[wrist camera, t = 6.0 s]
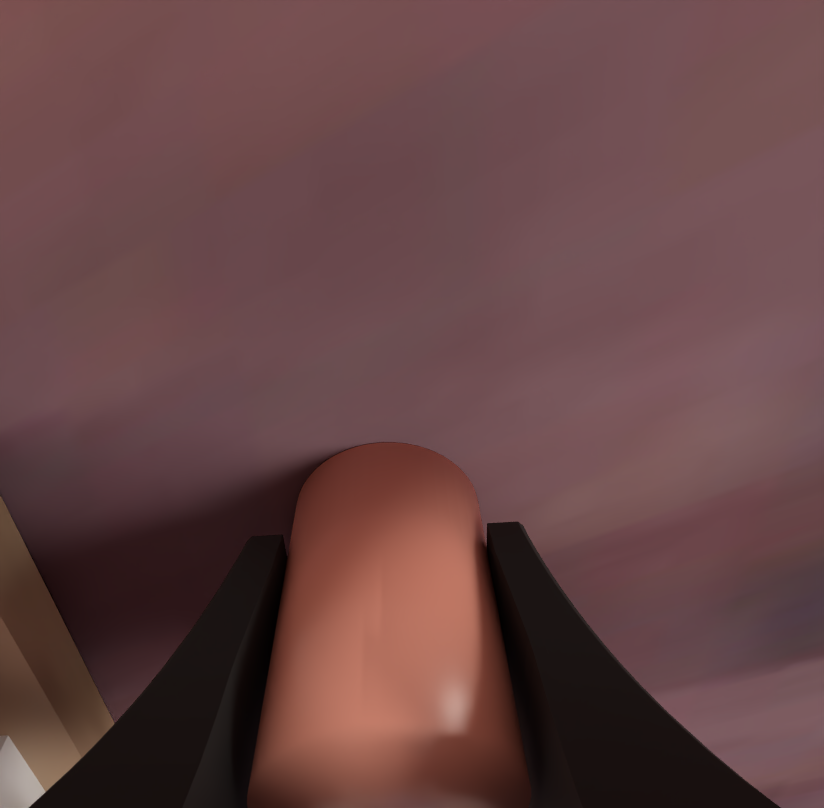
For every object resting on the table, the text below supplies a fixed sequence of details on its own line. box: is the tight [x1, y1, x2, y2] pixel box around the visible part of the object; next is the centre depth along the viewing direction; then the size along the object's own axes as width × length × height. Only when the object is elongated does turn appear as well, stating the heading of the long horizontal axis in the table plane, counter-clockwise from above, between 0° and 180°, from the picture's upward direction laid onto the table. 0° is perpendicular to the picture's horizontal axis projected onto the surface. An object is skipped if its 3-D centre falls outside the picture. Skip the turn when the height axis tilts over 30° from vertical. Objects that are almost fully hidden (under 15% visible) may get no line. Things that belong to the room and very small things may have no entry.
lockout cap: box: [247, 442, 531, 808], centre depth 12 cm, size 4×4×6 cm
